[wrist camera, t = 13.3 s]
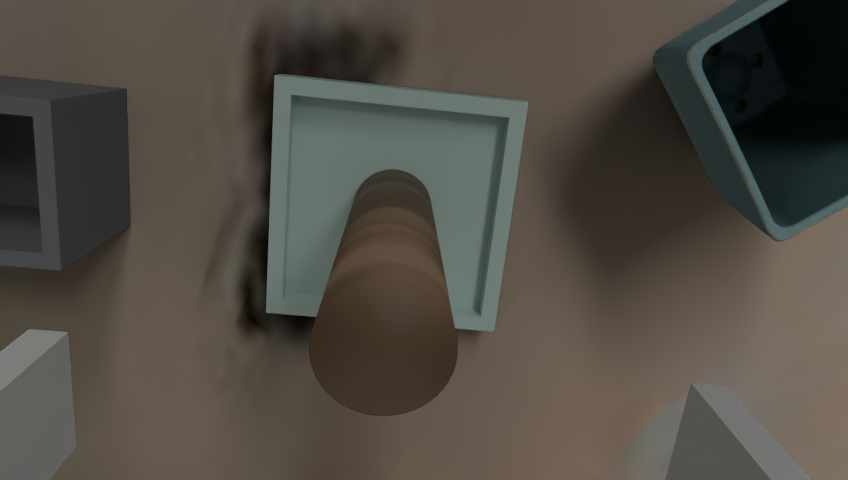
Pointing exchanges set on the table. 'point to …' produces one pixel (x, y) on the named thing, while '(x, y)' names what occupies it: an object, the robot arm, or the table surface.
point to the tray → (381, 150)
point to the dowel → (386, 304)
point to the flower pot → (767, 107)
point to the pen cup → (61, 170)
